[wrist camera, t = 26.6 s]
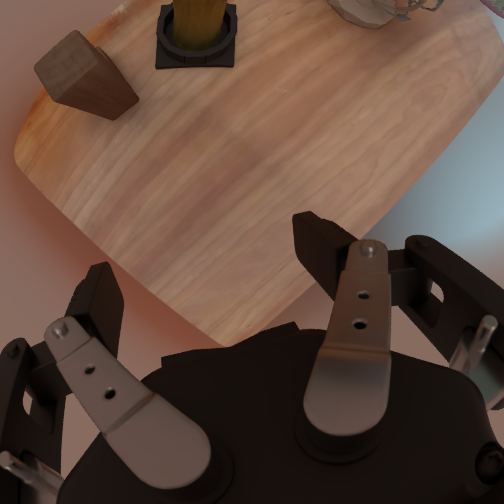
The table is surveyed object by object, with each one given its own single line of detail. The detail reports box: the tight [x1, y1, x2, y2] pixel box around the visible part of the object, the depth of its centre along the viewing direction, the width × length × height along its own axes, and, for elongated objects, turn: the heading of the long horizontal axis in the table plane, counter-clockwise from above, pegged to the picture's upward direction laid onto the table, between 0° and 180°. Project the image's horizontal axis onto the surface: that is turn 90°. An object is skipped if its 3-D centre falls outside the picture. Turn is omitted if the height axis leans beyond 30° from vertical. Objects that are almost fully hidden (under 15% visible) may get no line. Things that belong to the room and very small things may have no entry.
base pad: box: [155, 2, 237, 69], centre depth 28 cm, size 10×10×4 cm
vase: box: [173, 0, 227, 51], centre depth 22 cm, size 6×6×14 cm
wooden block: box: [34, 30, 139, 121], centre depth 21 cm, size 9×4×18 cm, turn 34°
